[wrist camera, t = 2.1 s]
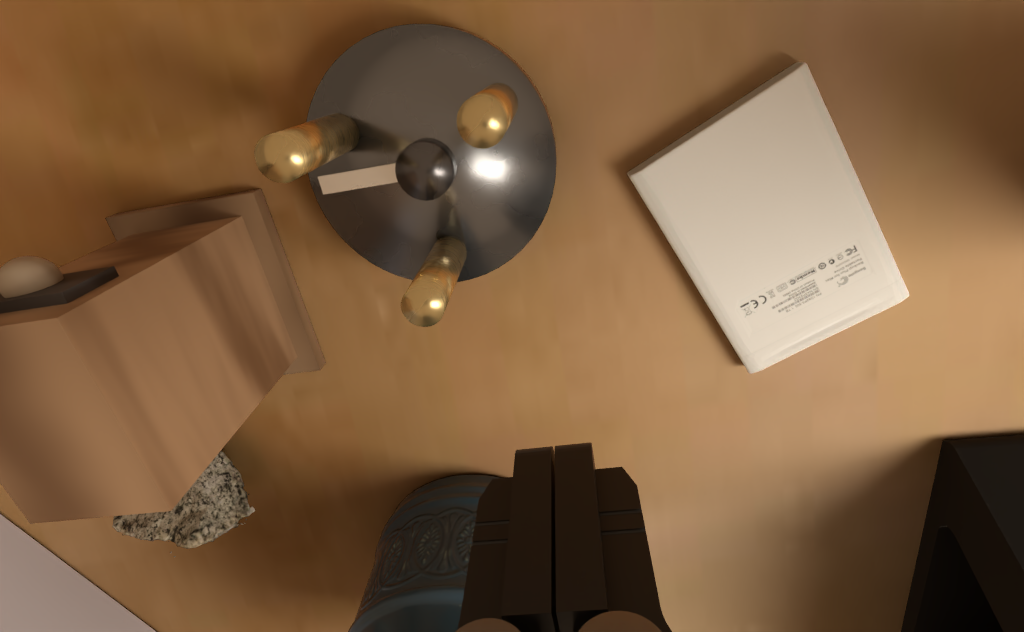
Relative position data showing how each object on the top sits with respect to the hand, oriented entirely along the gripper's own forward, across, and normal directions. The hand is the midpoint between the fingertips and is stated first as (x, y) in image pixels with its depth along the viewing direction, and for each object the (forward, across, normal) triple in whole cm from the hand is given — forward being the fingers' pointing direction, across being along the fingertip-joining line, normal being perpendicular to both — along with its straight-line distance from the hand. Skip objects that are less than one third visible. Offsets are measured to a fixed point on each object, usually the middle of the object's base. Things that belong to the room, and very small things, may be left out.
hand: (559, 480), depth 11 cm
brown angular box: (+18, +18, +1) cm, 25 cm away
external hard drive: (+18, -10, +2) cm, 21 cm away
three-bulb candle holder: (+18, +5, -4) cm, 19 cm away
